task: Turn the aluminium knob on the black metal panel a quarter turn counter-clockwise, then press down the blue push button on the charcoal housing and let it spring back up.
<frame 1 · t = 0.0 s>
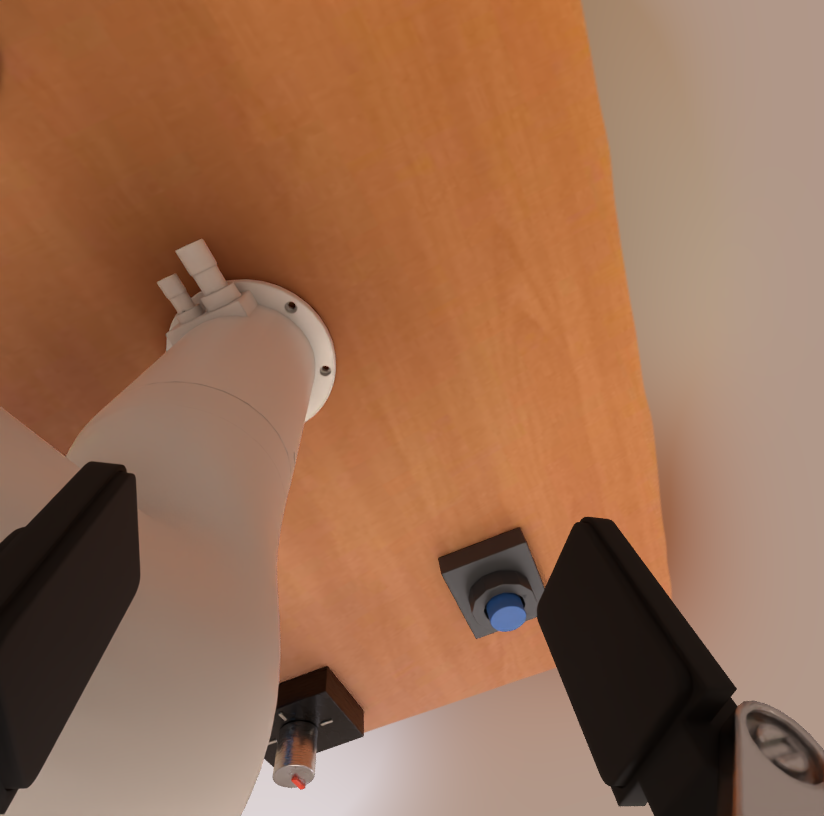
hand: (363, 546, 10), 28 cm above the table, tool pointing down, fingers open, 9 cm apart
button: (506, 611, 46), point 4 cm above the table, slide at 0.1 cm
housing: (494, 577, 50), on the table
panel: (301, 705, 57), on the table
knob: (296, 755, 52), point 5 cm above the table, hinge at 0.0°
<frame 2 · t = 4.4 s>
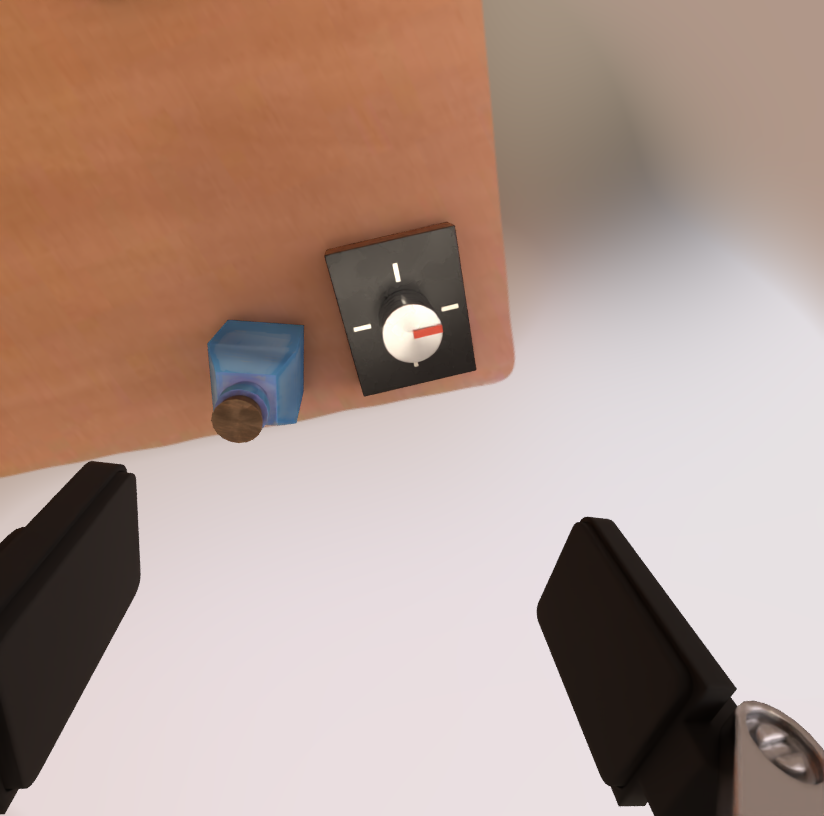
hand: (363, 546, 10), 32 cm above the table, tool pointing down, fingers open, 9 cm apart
perfume bottle: (267, 356, 41), on the table
panel: (402, 307, 40), on the table
knob: (409, 325, 35), point 5 cm above the table, hinge at 0.0°
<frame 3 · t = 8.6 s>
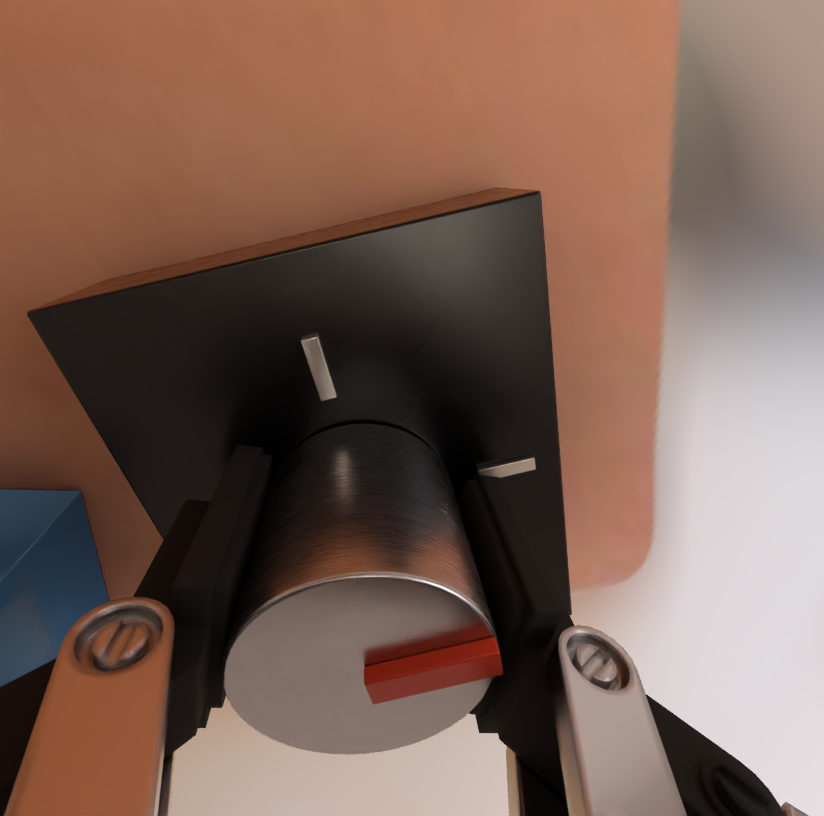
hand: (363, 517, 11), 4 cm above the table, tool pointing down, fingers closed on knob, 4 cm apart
panel: (362, 438, 14), on the table
knob: (363, 576, 9), point 5 cm above the table, hinge at 0.0°, touching gripper
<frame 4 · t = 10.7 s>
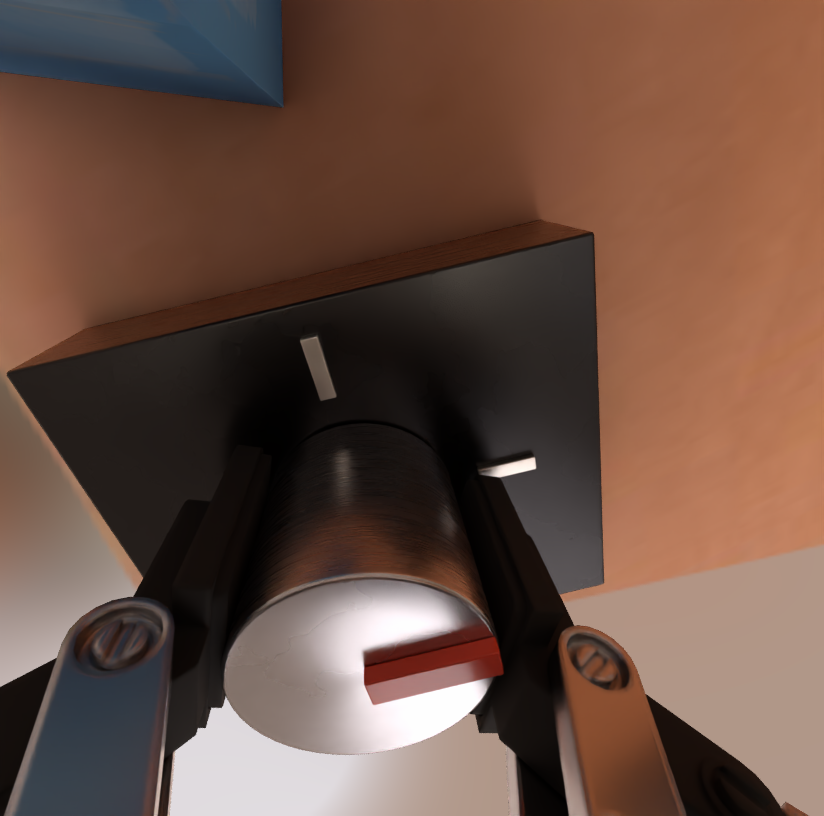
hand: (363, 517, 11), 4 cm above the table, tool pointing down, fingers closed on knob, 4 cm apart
panel: (362, 438, 14), on the table
knob: (364, 576, 9), point 5 cm above the table, hinge at 90.4°, touching gripper
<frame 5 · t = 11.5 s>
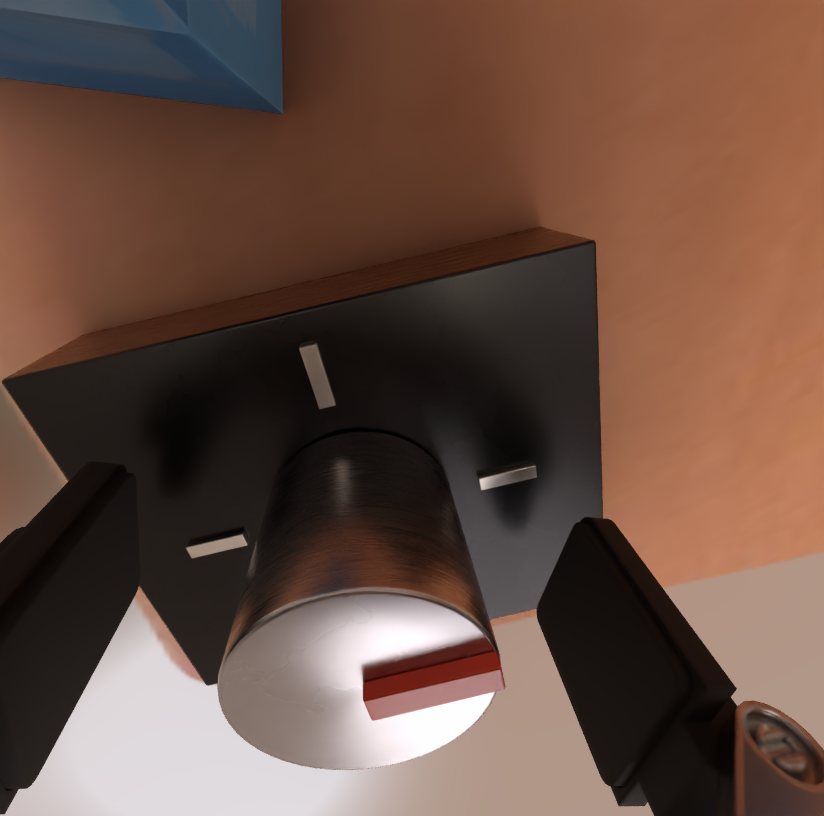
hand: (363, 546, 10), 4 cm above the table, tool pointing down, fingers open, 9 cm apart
panel: (361, 445, 14), on the table
knob: (363, 587, 9), point 5 cm above the table, hinge at 90.4°
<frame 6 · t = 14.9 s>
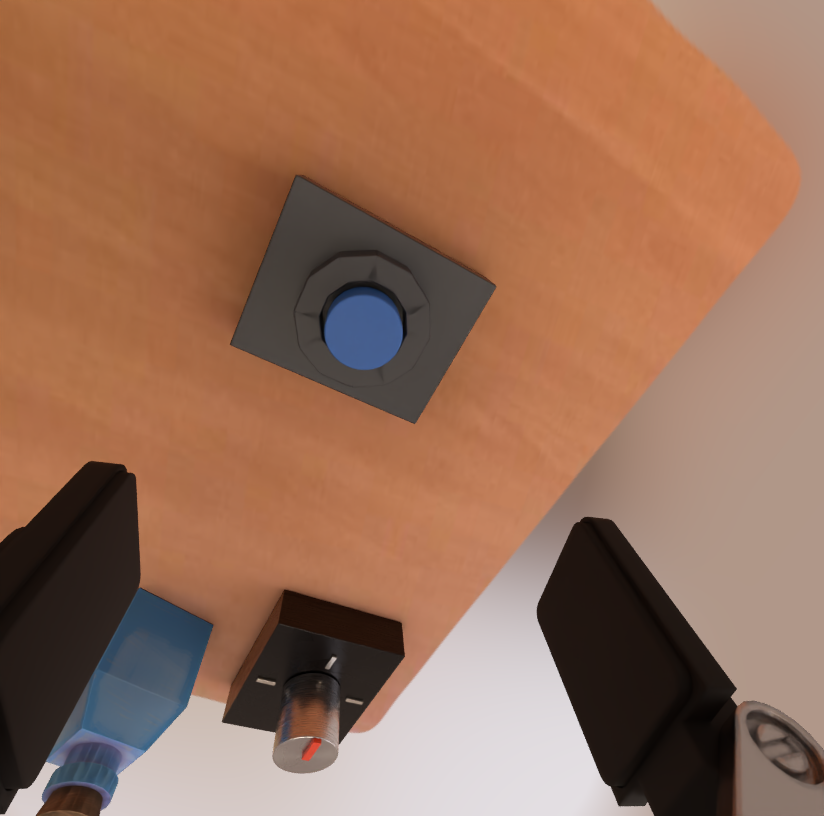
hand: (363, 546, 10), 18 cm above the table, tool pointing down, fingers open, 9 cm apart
perfume bottle: (154, 627, 35), on the table
button: (363, 328, 22), point 4 cm above the table, slide at 0.1 cm
housing: (363, 305, 26), on the table
panel: (315, 654, 38), on the table
knob: (308, 723, 33), point 5 cm above the table, hinge at 90.4°
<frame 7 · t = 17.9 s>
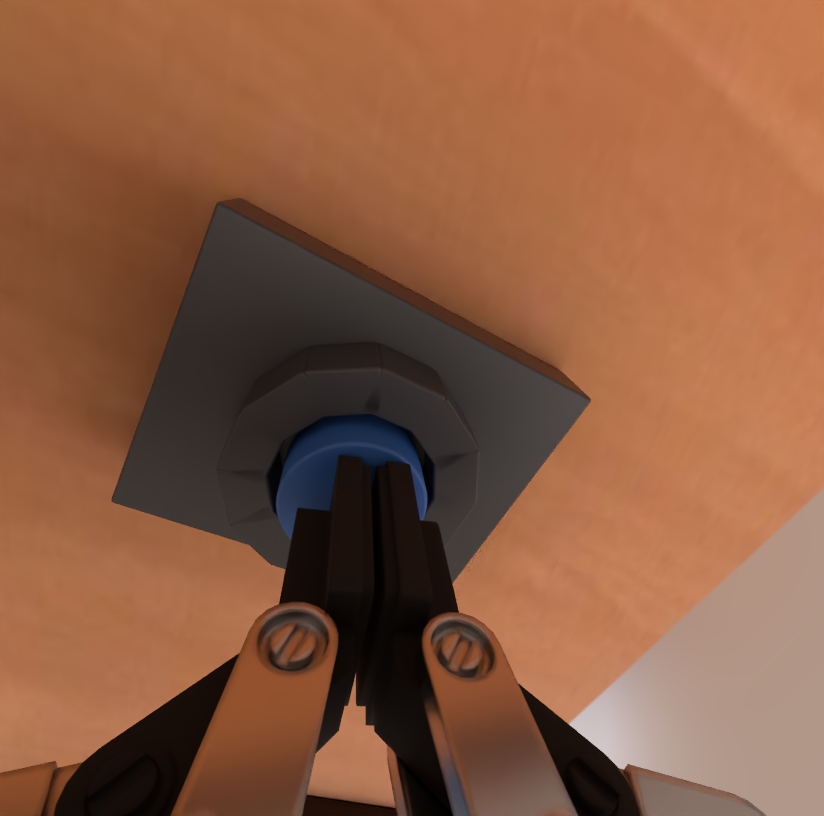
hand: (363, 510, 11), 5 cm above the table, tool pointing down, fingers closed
button: (353, 486, 12), point 4 cm above the table, slide at -0.5 cm, touching gripper
housing: (353, 416, 15), on the table
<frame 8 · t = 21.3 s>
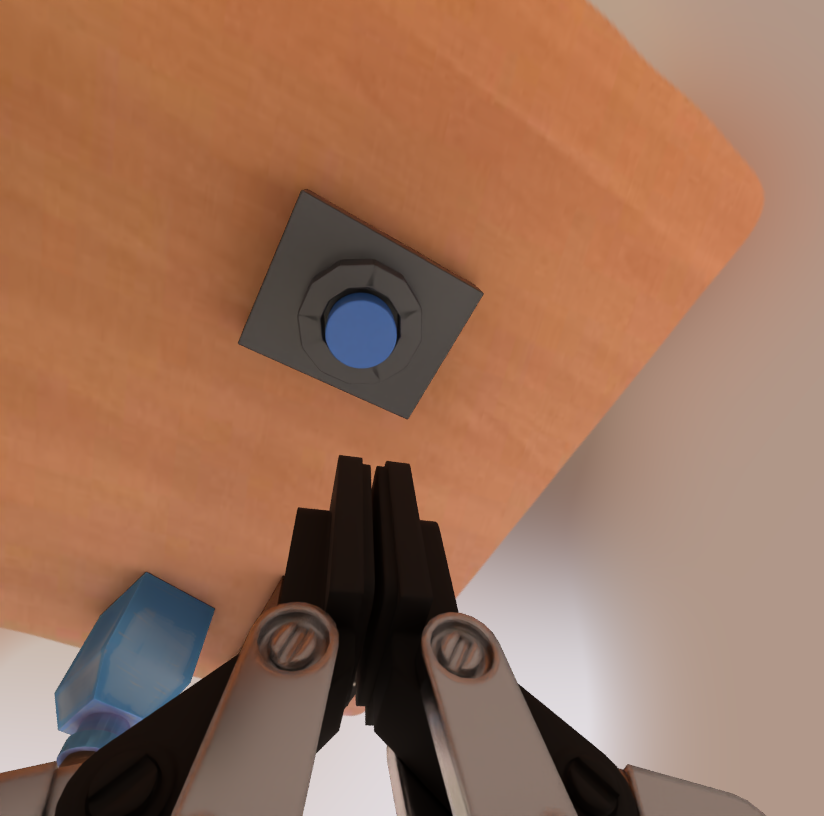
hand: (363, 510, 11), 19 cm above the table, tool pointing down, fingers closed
perfume bottle: (159, 610, 37), on the table
button: (361, 330, 24), point 4 cm above the table, slide at 0.1 cm
housing: (361, 308, 28), on the table
panel: (310, 638, 40), on the table
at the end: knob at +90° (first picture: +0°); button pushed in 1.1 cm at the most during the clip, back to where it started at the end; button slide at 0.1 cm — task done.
